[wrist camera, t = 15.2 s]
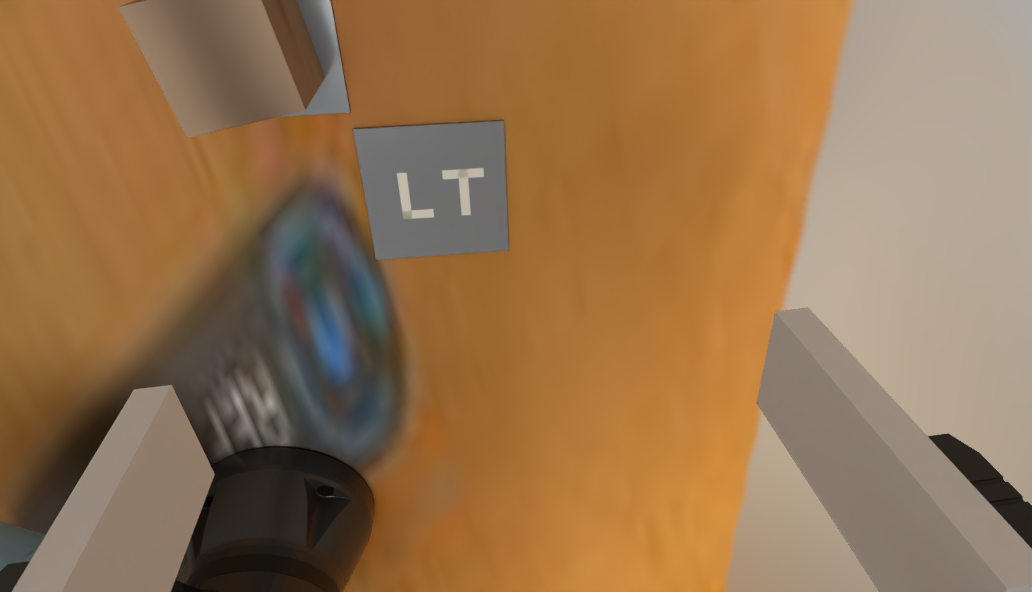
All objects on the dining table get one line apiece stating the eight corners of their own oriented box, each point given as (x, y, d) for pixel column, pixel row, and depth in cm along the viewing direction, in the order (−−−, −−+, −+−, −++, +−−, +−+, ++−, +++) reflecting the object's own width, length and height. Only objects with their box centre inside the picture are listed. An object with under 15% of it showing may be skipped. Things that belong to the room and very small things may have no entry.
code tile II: (193, 120, 36) (191, 121, 36) (135, -59, 31) (133, -59, 31) (350, 111, 36) (350, 113, 36) (319, -65, 31) (318, -65, 31)
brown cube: (223, 101, 35) (187, 138, 30) (169, -13, 32) (118, 7, 27) (325, 77, 35) (305, 110, 30) (281, -40, 32) (251, -26, 27)
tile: (376, 258, 42) (376, 260, 42) (353, 128, 37) (353, 129, 37) (508, 249, 43) (508, 250, 42) (503, 119, 37) (503, 121, 37)
